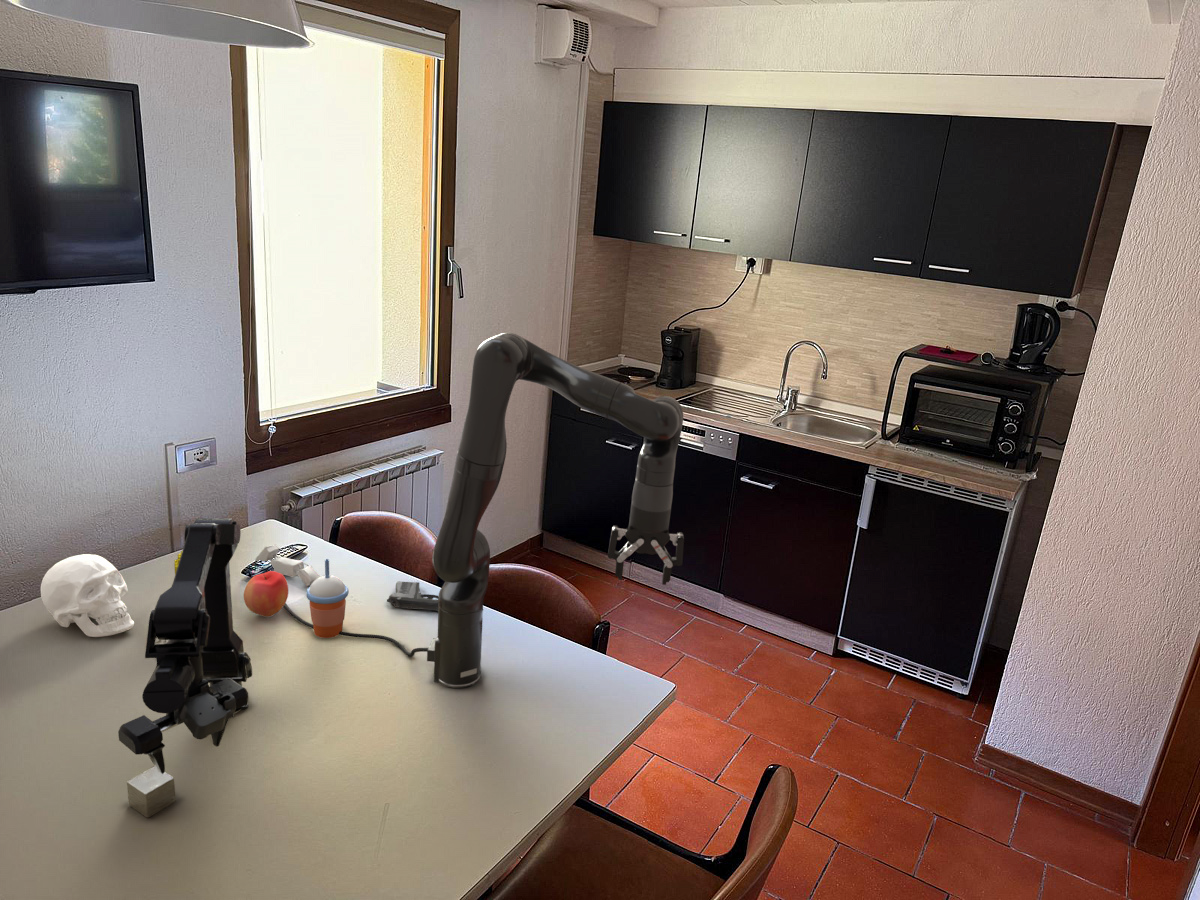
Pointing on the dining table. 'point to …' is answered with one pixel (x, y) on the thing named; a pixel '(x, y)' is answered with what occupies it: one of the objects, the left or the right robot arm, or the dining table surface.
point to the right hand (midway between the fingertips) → (642, 580)
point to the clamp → (288, 565)
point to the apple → (266, 593)
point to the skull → (86, 595)
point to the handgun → (412, 597)
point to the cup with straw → (327, 604)
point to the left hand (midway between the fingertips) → (189, 758)
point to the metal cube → (151, 792)
